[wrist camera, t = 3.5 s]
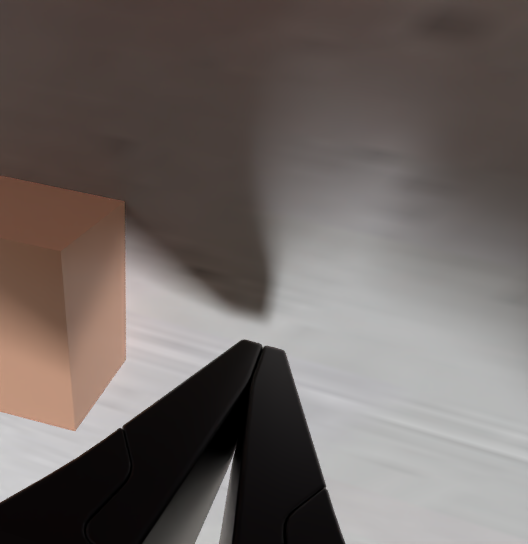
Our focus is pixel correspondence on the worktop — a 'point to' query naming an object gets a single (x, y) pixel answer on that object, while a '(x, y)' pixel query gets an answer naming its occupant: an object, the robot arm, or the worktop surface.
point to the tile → (59, 300)
